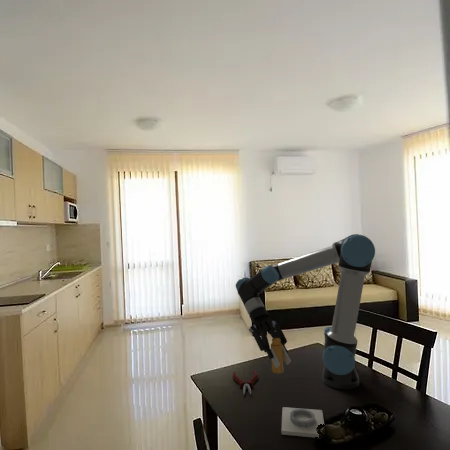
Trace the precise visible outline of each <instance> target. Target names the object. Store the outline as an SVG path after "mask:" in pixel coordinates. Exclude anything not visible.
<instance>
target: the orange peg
mask: <svg viewBox="0 0 450 450" xmlns="http://www.w3.org/2000/svg"><path fill="white" fill-rule="evenodd" d="M270 348H273V350H274V352H275V354H276V356H277V358H278V360H279V362H280V365H279V367H278V368H276V367H275V365H274V363H273V361H272V359H270V360H271V372H272V373H274V374H283V373H284V371H285V369H284V359H283V348H282V344H281V340H280V338H272V339H271V343H270Z"/></svg>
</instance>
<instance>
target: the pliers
mask: <svg viewBox="0 0 450 450" xmlns="http://www.w3.org/2000/svg"><path fill="white" fill-rule="evenodd" d="M258 378H259V376H258V372H257V371H256V370H253V375H252V377H250V379H249V380H248V381H247V382H246V381H245V380H243V379H241V378H240V377H239V376H237V374H236V371H233V373H232V380H233V381H234V382H235V383H237V384H238V386H239V388H240V389H242V392H243V396H245V395H246V392H248V393H249V395H250V396H252V389H251V388H254V384H255V382H256V381H257V380H258Z"/></svg>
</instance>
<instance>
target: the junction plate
mask: <svg viewBox="0 0 450 450" xmlns="http://www.w3.org/2000/svg"><path fill="white" fill-rule="evenodd" d="M281 413H282V415H281V435H284V436H285V435H286V436H295V437H296V436H297V437H303V438H305V437H306V438H315V437H318V438H317V439H320V438H319V434H318V433H317V431H316V430H315V429H316V428H317V427H318V425H320V424H322V425H323V424H324V425H325V421H324V414H323V409H311V408H300V407H299V408H298V407H297V408H296V407H286V406H285V407H284V406H283V407H282V411H281Z"/></svg>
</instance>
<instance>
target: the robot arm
mask: <svg viewBox="0 0 450 450" xmlns="http://www.w3.org/2000/svg"><path fill="white" fill-rule="evenodd" d="M375 255H376V247H375V245H374V243H373V241H372V240H371V239H370V238H369V237H368V236H367V235H364V234H356V233H354V234H350V235H348V236H347V237H345V238H343V239H340V240H338V241H335V242H333V243H332V245H331V246H327V247H325V248H322V249H319V250H316V251H312V252H309V253H306V254H303V255H300V256H297V257H294V258H291V259H288V260H285V261H282V262H279V263H277V264H276V263H275V264H274V265H271V264H268V265H266V266H264V267H262V269H261V270H260V271H258V272H257V273H256V274H254V275H253V276H252V277H251V278H249V277H242V278H240V279H238V280H237V281H236V283H235V288H236V291H237V294H238V296H239V298H240V300H241V302H242V304H243V306H244V308H245V310H246V313H247V314H248V316H249V318H250V320H251V323H252V325H251V326H250V327H249V329H248V331H249V332H250V333H251V334H252V336H253V338H254V340H255V342H256V345H257V347H258V348H259V351H261V352H264V353H265V354H267V356H268V358H269V359H270V360H271V359H272V361H273V363H274V365H275V367H276V368H278V367H279V365H280V362H279V360H278V358H277V356H276V354H275V352H274V350H273V348H271V344H270V342H269V339H268V335H269V336H271V338H272V339H273V338H280V340H281V344H282V348H283V362H284V363H285V364H286V365H289V364H290V363H291V362H292V359H291V358H290V356H289V351H288V349H287V347H286V346H285V345H286V344H287V343H288V340H287V337H286V336H285V334H284V332H283V330H282V328H281V325H280V323H279V320H278V319H277V320H273V319H271V318H270V315H269V313H268V311H267V308H266V307H265V305H264V303H263V301H262V300H261V298H260V295H259V294H262V293H263V292H264V291H265V290H267V289H269V287H271V286H272V285H273V284H275V283H277V282H278V281H279V282H280V281H282V280H285V279H289V278H291V277H296V276H298V275H302V274H304V273H308V272H311V271H314V270H318V269H321V268H324V267H328V266H331V265H335V264H337V263H338V266H337V267H338V268H339V269H340V278H339V283H338V289H337V293H336V294H337V296H336V301H335V307H334V313H333V318H332V323H331V326H327V327H325V328H324V332H323V334H324V344H323V349H322V350H323V351H322V354H321V358H322V362H323V365H324V367H323V369H322V374H321V378H322V382H323V383H324V384H325V385H326V386H328V387H331V388H334V389H338V390H354V389H356V388H358V387H359V386H360V377H359V374H358V372H357V369H356V366H355V365H356V352H357V347H358V339H357V337H356V336H355V332H356V327H357V322H358V316H359V312H360V311H359V310H360V306H361V299H362V296H363V295H362V294H363V288H364V284H365V278H366V276H367V275H368V274H370V273H371V268H372V263H373V260H374V258H375ZM267 334H268V335H267Z"/></svg>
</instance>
